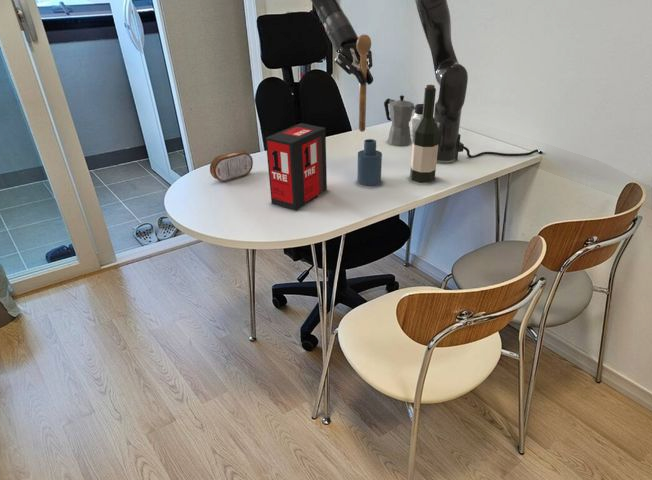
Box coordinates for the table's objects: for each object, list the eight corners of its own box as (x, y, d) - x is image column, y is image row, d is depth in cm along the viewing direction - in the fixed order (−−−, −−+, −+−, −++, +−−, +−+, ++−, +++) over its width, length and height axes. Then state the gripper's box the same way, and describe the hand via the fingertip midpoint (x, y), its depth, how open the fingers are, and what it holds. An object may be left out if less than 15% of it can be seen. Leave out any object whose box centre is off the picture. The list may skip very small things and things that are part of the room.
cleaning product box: (295, 210, 144) (291, 143, 133) (271, 203, 148) (265, 137, 137) (326, 191, 156) (325, 127, 145) (303, 185, 160) (300, 123, 148)
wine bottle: (418, 186, 160) (426, 89, 143) (404, 177, 166) (411, 83, 149) (439, 182, 163) (450, 87, 147) (425, 173, 169) (434, 81, 153)
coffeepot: (419, 143, 195) (423, 96, 185) (403, 149, 190) (407, 100, 180) (391, 134, 204) (393, 89, 194) (375, 139, 199) (376, 93, 189)
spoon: (353, 132, 154) (354, 34, 139) (365, 129, 157) (368, 33, 142) (358, 134, 153) (359, 35, 138) (370, 130, 156) (373, 34, 141)
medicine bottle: (428, 137, 203) (431, 107, 196) (410, 135, 204) (413, 106, 197) (429, 132, 208) (432, 102, 202) (412, 130, 209) (414, 101, 203)
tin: (250, 171, 169) (247, 146, 164) (255, 173, 167) (253, 149, 163) (211, 182, 160) (207, 157, 156) (216, 185, 158) (212, 160, 154)
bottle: (376, 177, 166) (377, 136, 158) (383, 186, 160) (385, 143, 152) (354, 180, 164) (355, 138, 156) (361, 188, 158) (362, 145, 150)
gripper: (328, 25, 139) (356, 78, 139) (364, 21, 147) (391, 72, 147) (317, 43, 146) (344, 94, 145) (352, 39, 153) (378, 87, 153)
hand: (367, 83), depth 146 cm, fingers closed on spoon, 2 cm apart
